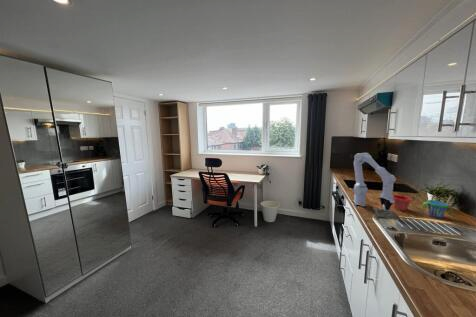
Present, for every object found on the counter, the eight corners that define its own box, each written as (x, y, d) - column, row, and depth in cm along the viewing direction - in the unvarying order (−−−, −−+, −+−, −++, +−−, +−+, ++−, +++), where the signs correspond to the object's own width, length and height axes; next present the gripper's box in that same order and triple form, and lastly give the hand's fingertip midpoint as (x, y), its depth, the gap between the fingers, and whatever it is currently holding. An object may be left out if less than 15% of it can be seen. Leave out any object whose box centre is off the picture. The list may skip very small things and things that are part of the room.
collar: (372, 210, 145) (372, 205, 144) (390, 212, 141) (391, 207, 141) (378, 217, 134) (379, 212, 133) (398, 219, 130) (399, 214, 129)
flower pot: (406, 213, 139) (408, 200, 138) (389, 208, 148) (390, 196, 147) (411, 209, 145) (412, 197, 144) (393, 205, 154) (395, 193, 153)
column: (380, 211, 140) (381, 203, 139) (386, 212, 138) (387, 204, 137) (382, 213, 136) (383, 205, 135) (389, 214, 135) (390, 206, 134)
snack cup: (448, 215, 134) (450, 202, 133) (454, 221, 125) (456, 207, 124) (418, 210, 143) (420, 198, 141) (422, 216, 134) (424, 202, 133)
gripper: (375, 187, 142) (374, 204, 144) (387, 194, 128) (385, 212, 130) (386, 188, 141) (384, 204, 143) (398, 194, 127) (396, 213, 129)
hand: (385, 208), depth 137 cm, fingers closed on column, 4 cm apart
